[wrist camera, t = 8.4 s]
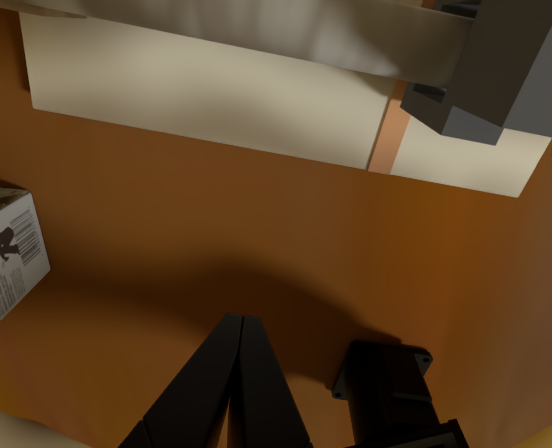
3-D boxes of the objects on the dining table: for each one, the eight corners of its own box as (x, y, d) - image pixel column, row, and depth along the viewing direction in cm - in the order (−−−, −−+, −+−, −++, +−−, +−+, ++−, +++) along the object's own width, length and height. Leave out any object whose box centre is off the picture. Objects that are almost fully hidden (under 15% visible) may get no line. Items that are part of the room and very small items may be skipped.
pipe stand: (503, 186, 21) (577, 240, 15) (50, 102, 19) (-40, 130, 14) (640, -70, 15) (833, -124, 10) (9, -224, 13) (-173, -390, 8)
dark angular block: (440, 115, 17) (552, 177, 10) (399, 107, 16) (483, 164, 9) (490, -10, 14) (688, -48, 7) (443, -20, 14) (598, -70, 7)
